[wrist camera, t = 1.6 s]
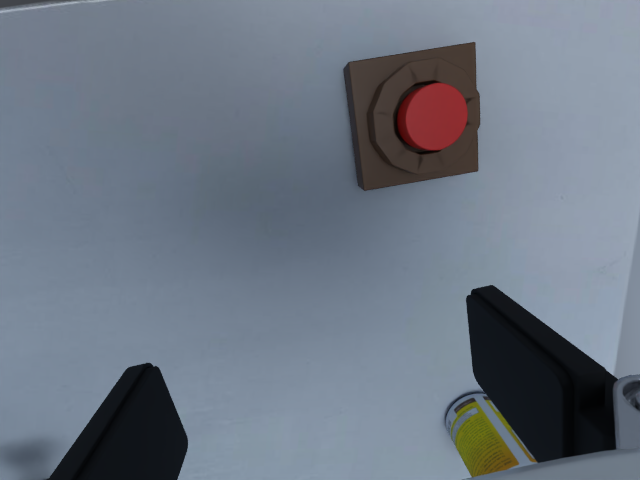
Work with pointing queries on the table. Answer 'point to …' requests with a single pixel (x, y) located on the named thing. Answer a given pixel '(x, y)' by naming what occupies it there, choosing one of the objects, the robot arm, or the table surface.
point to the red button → (432, 117)
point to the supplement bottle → (485, 437)
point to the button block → (382, 109)
